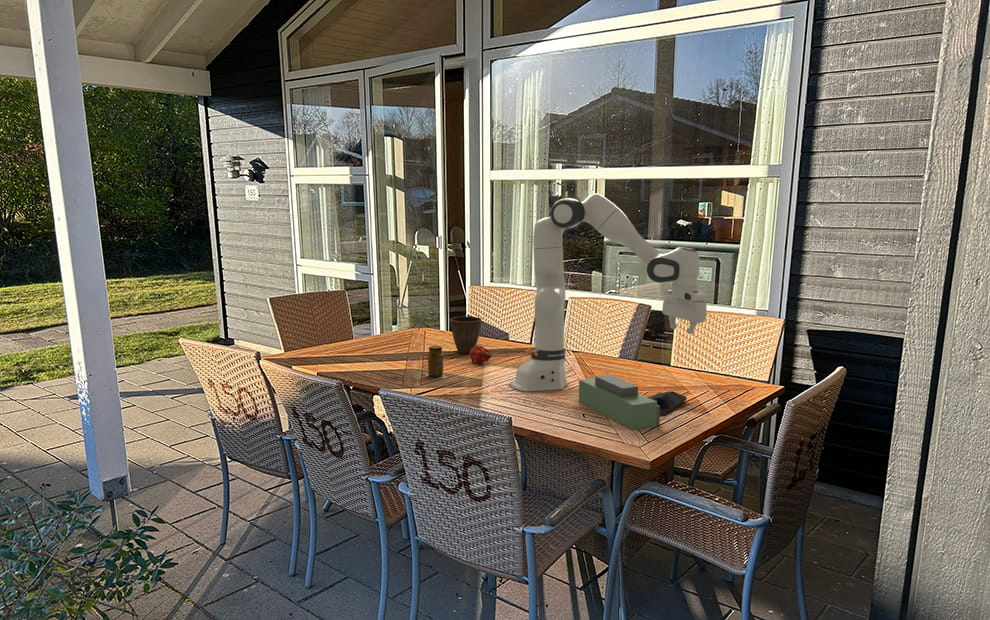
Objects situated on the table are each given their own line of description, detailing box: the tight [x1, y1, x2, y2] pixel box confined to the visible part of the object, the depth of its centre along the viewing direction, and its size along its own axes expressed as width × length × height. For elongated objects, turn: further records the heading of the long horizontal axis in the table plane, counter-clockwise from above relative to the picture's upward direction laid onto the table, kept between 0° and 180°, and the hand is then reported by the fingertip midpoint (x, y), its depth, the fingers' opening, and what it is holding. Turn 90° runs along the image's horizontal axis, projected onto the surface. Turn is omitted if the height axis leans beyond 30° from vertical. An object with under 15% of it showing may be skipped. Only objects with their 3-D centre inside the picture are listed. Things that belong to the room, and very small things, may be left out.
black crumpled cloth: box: [647, 390, 688, 417], centre depth 222 cm, size 15×22×5 cm
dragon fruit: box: [467, 344, 492, 365], centre depth 282 cm, size 8×8×12 cm
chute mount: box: [578, 374, 661, 431], centre depth 212 cm, size 11×32×11 cm, turn 23°
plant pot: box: [449, 316, 483, 355], centre depth 303 cm, size 15×15×16 cm
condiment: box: [424, 345, 448, 380], centre depth 259 cm, size 7×8×12 cm
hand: (681, 330), depth 231 cm, fingers open, 8 cm apart
